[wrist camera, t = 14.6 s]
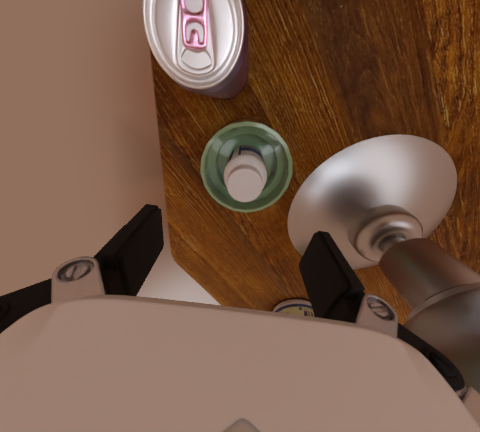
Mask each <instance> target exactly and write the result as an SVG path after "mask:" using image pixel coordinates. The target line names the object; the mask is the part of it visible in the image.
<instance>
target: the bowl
mask: <svg viewBox="0 0 480 432" xmlns="http://www.w3.org/2000/svg"><path fill="white" fill-rule="evenodd" d="M241 145H251V146H253V147H255V148H257V149H258V150H259V151H260V153H261V155H262V157H263V161H264V164H265V167H266V171H267V181H266V184H265V186H264V188H263V189H262V191H261V193H260V195H259V196H258V197H257V198H256V199H255V200H253V201H250V202H240V201H237V200H235V199H234V198H233V197H232V196H231V195H230V194H229V192H228V190H227V187H226V185H225V182H224V170H225V167H226V164H227V161H228V158H229V156H230V154H231V153H232V151H233V150H234V149H235V148H237V147H239V146H241ZM200 172H201V176H202V180H203V184H204V186H205V188H206V189H207V191H208V192H209V194H210V196H211V197H212V198H213V199H214V200H216V201H217V202H218V203H219V204H220V205H222V206H224V207H226V208H228V209H230V210H233V211H238V212H244V213H246V212H255V211H259V210H262V209H264V208H267V207H269V206H271V205H272V204H273V203H275V202H276V201H277V200H279V199H280V198H281V196H282V195H283V193H284V192H285V191H286V189H287V188H288V185H289V182H290V179H291V176H292V157H291V154H290V151H289V148H288V145H287V144H286V143H285V141H284V140H283V139H282V138H281V136H280V135H279V134H278V133H277V132H276V131H275V130H274V129H273V128H272V127H270V126H268V125H267V124H265V123H264V122H262V121H258V120H253V119H241V120H235V121H232V122H231V123H229V124H227V125H225V126H224V127H222V128H221V129H220V130H219V131H217V132H216V133H215V135H214V136H213V137H212V138H211V139H210V140H209V141H208V143H207V144H206V147H205V149H204V152H203V154H202V157H201V170H200Z"/></svg>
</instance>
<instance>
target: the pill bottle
mask: <svg viewBox="0 0 480 432" xmlns="http://www.w3.org/2000/svg"><path fill="white" fill-rule="evenodd" d="M266 181H267V171H266V167H265V164H264V161H263V157H262V155H261V153H260V151H259V150H258V149H257V148H255V147H253V146H251V145H241V146H239V147H237V148H235V149H234V150H233V151H232V153H231V154H230V156H229V158H228V161H227V164H226V167H225V170H224V182H225V185H226V187H227V190H228V192H229V194H230V195H231V196H232V197H233V198H234V199H235V200H237V201H240V202H250V201H253V200H255V199H256V198H257V197H258V196H259V195H260V193H261V191H262V189H263V188H264V186H265V184H266Z"/></svg>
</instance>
